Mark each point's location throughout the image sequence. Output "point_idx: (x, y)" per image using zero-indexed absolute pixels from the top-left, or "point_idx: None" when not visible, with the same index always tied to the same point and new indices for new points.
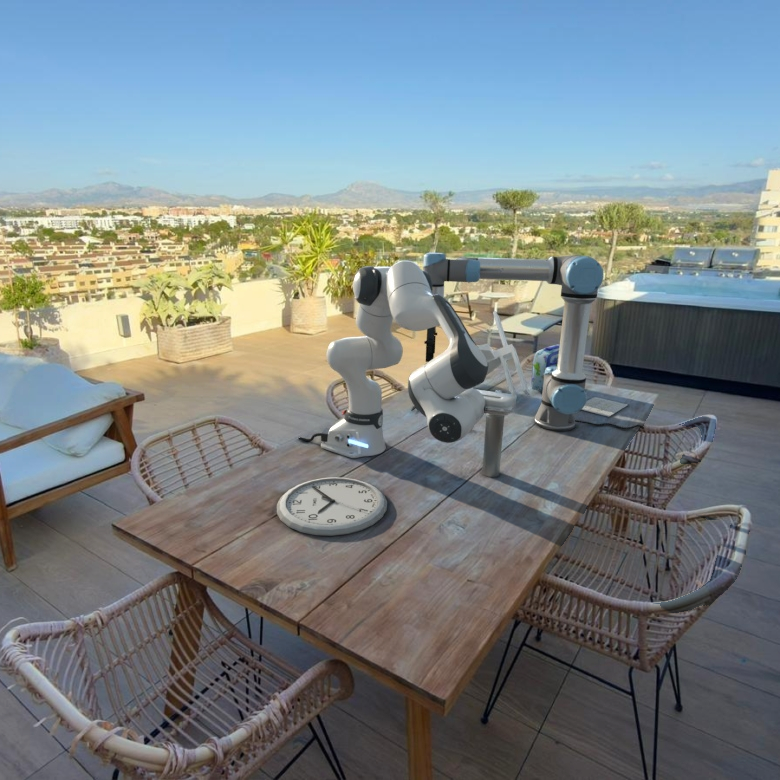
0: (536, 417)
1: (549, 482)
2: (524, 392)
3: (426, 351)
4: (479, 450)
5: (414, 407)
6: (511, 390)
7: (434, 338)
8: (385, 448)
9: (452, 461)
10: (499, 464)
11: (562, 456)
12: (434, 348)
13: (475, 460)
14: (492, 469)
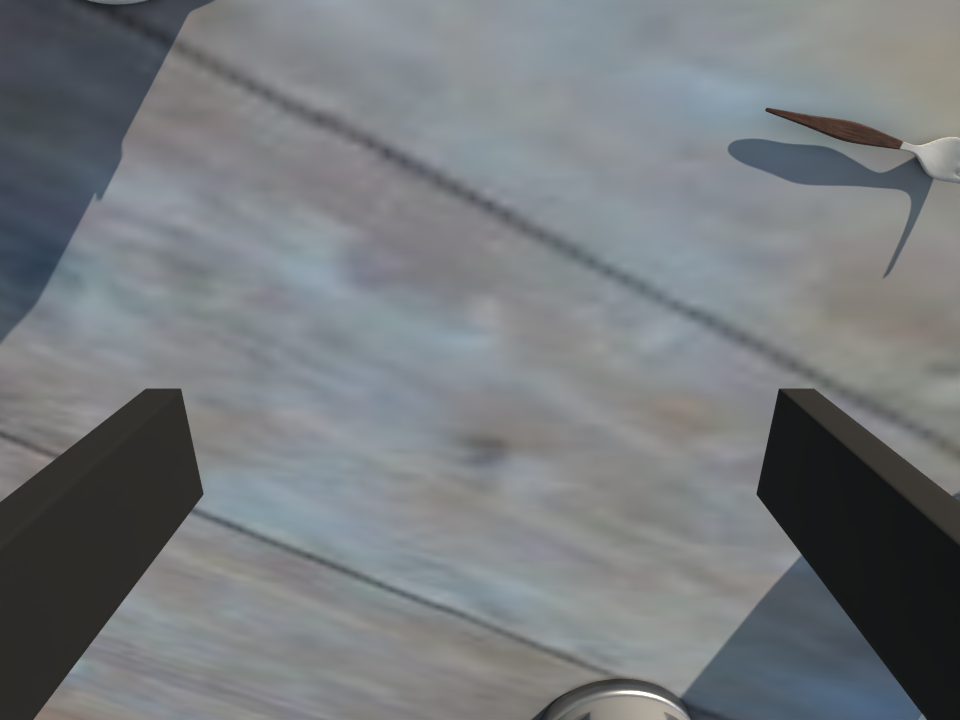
0: (616, 706)
1: None
2: (920, 716)
3: (18, 499)
4: (269, 470)
5: (826, 128)
6: None
7: (940, 712)
8: (114, 3)
9: (111, 363)
10: None
11: (301, 712)
12: (798, 540)
13: None
14: None
